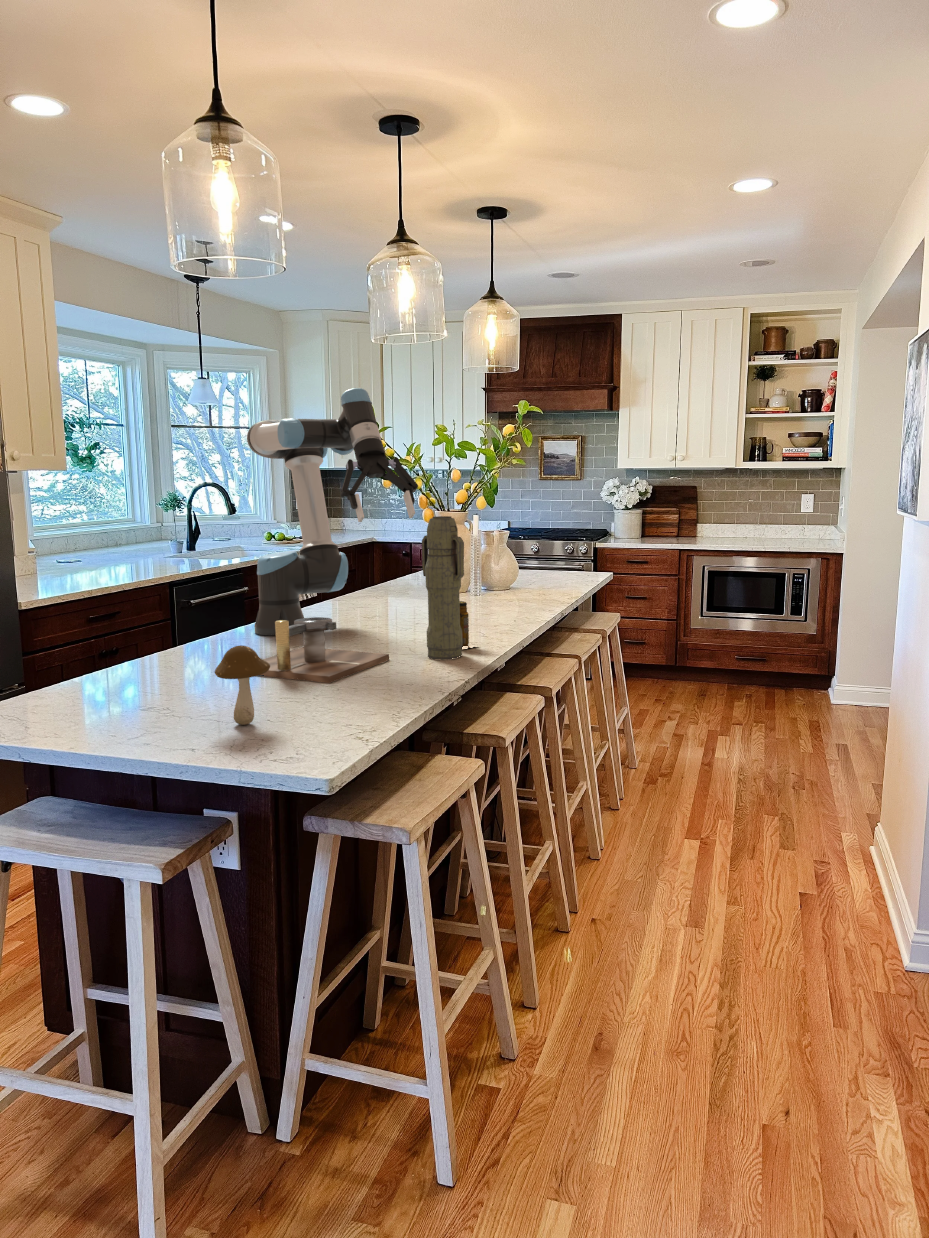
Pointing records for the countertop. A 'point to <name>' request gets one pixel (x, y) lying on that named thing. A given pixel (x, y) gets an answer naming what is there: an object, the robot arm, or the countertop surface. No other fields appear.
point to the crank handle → (299, 627)
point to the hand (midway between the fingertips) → (387, 517)
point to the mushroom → (242, 678)
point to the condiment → (464, 623)
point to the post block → (323, 661)
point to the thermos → (443, 586)
